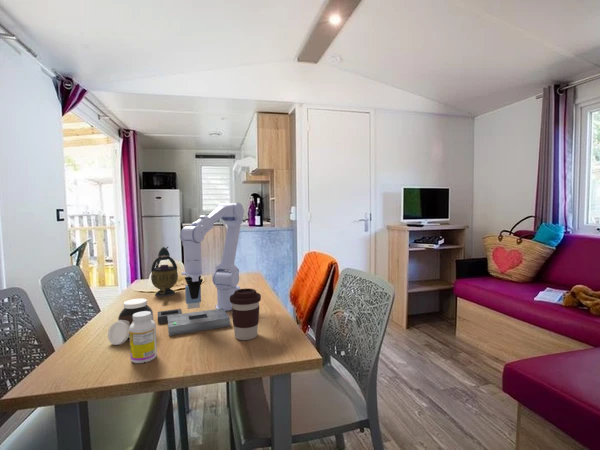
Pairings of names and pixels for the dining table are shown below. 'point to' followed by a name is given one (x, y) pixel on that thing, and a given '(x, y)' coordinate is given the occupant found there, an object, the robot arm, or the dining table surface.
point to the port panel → (197, 321)
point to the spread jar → (126, 320)
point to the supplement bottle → (142, 338)
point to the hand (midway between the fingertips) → (194, 297)
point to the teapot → (164, 274)
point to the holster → (163, 315)
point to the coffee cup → (245, 313)
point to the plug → (192, 302)
